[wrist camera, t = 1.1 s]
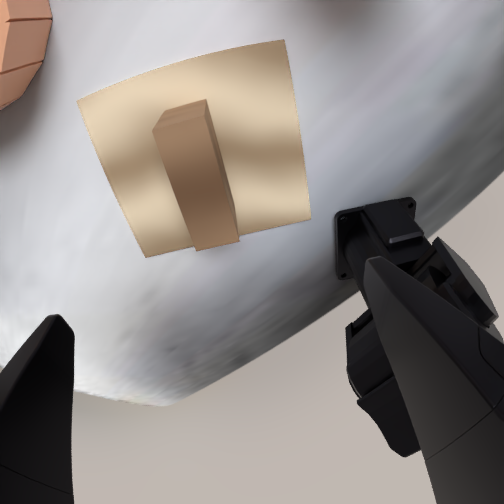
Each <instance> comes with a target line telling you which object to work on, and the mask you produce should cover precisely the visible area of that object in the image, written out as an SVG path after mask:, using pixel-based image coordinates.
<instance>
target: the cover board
mask: <svg viewBox="0 0 504 504" xmlns="http://www.w3.org/2000/svg"><path fill="white" fill-rule="evenodd" d="M77 104H78V107H79V109H80V112H81V115H82V118H83V120H84V123H85V125H86V128H87V131H88V133H89V136H90V138H91V141H92V143H93V146H94V148H95V151H96V153H97V155H98V158H99V160H100V163H101V165H102V167H103V170H104V172H105V174H106V176H107V179H108V181H109V183H110V185H111V188H112V190H113V192H114V194H115V197H116V199H117V201H118V203H119V205H120V207H121V209H122V212H123V214H124V216H125V218H126V220H127V222H128V224H129V226H130V228H131V230H132V232H133V234H134V236H135V238H136V240H137V242H138V244H139V246H140V248H141V250H142V252H143V254H144V256H145V258H147V257H151V256H155V255H159V254H163V253H167V252H172V251H176V250H180V249H184V248H188V247H192V246H194V247H195V249H196V251H200V250H204V249H209V248H213V247H217V246H222V245H226V244H230V243H235V242H239V235H243V234H248V233H252V232H256V231H261V230H265V229H270V228H274V227H278V226H283V225H287V224H292V223H296V222H301V221H305V220H310V219H311V213H310V204H309V195H308V186H307V178H306V170H305V163H304V155H303V148H302V141H301V134H300V127H299V121H298V114H297V108H296V102H295V96H294V90H293V84H292V78H291V72H290V67H289V62H288V56H287V51H286V46H285V41H284V40H277V41H271V42H264V43H258V44H253V45H247V46H242V47H237V48H232V49H227V50H223V51H219V52H214V53H210V54H206V55H202V56H198V57H195V58H191V59H187V60H184V61H180V62H177V63H173V64H170V65H167V66H164V67H161V68H158V69H155V70H152V71H149V72H146V73H143V74H140V75H137V76H135V77H132V78H129V79H127V80H124V81H121V82H119V83H116V84H114V85H111V86H109V87H106V88H104V89H102V90H99V91H97V92H95V93H92V94H90V95H88V96H86V97H84V98H81V99H79V100H77Z"/></svg>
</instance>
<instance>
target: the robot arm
mask: <svg viewBox="0 0 504 504" xmlns="http://www.w3.org/2000/svg"><path fill="white" fill-rule="evenodd" d="M409 203H411V204H410V205H409ZM415 210H416V201H415V200H414V199H413V198H412V197H406V198H401V199H396V200H395V199H394V200H389V201H384V202H379V203H374V204H369V205H365V206H361V207H357V208H352V209H347V210H342V211H339V212H338V213H337V214H336V216H335V228H336V272H337V276H338V279H340V280H345V279H349V278H353V277H354V279H355V281H356V283H357V285H358V287H359V289H360V291H361V293H362V296H363V298H364V300H365V302H366V304H367V306H368V310H367V311H365V312H364V313H363V314H362V315H361V316H360V317H359V318H358V319H357V320H356V321H354V322H353V323H352V322H351V323H350V324H349V325H348V326H347V327H346V328H345V329H346V347H347V374H348V379H349V383H350V385H351V387H352V389H353V391H354V392H355V394H356V395H357V397H359V399H358V400H357V404H358V405H359V406H360V407H361V408H362V409H363V410H364V411H365V412H367V413H368V414H369V415H370V416H371V418H372V419H373V420H374V421H375V423H376V424H377V425H378V427H379V428H380V430H381V432H382V434H383V435H384V437H385V439H386V441H387V443H388V445H389V447H390V448H391V449H392V450H393V451H395V452H396V453H398V454H399V455H400V456H402V457H408V456H410V455H412V454H414V453H416V452H418V451H420V450H421V451H422V454H423V457H424V460H425V464H426V467H427V471H428V474H429V477H430V481H431V484H432V488H433V491H434V495H435V499H436V503H437V504H504V342H503V338H502V336H501V334H500V333H499V331H498V330H497V328H496V327H495V325H494V324H493V322H494V321H495V320H496V319H497V318H498V317H499V316H498V313H497V311H496V309H495V307H494V305H493V302H492V300H491V298H490V296H489V294H488V292H487V290H486V288H485V286H484V284H483V283H482V282H481V280H480V279H479V278H478V276H477V275H476V274H475V273H474V271H473V270H472V269H471V268H470V266H469V265H468V264H467V263H466V262H465V261H464V260H463V259H462V258H461V257H460V256H459V255H458V254H457V253H456V252H455V251H454V250H452V249H451V248H450V247H449V246H448V245H447V244H446V243H445V242H444V241H442V240H441V239H440V238H439V237H437V238H436V239H435V240H434V241H433V242H432V245H431V244H430V243H429V241H428V240H427V239H426V238H425V236H424V232H423V230H422V229H421V228H420V227H419V226H418V224H417V223H416V222H415V221H414V218H415ZM342 217H345V218H344V219H342V220H341V218H342ZM343 273H344V274H343ZM74 343H75V336H74V332H73V330H72V329H71V327H70V326H69V325H68V324H67V322H66V321H65V320H64V319H63V317H62V316H61V315H59V314H54V315H49V316H47V317H46V318H45V319H44V321H43V322H42V323H41V324H40V325H39V326H38V327H37V329H36V330H35V331H34V332H33V333H32V334H31V336H30V337H29V338H28V339H27V340H26V342H25V343H24V344H23V345H22V346H21V348H20V349H19V350H18V351H17V353H16V354H15V355H14V356H13V357H12V359H11V360H10V361H9V362H8V364H7V365H6V366H5V368H4V369H3V370H2V372H1V373H0V504H74V495H73V484H72V458H71V457H72V456H71V429H72V404H73V388H74Z"/></svg>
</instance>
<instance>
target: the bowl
mask: <svg viewBox="0 0 504 504" xmlns="http://www.w3.org/2000/svg"><path fill="white" fill-rule="evenodd" d="M51 18H52V14H51V9H50V5H49V1H48V0H0V111H1V110H2V109H3V108H5V107H6V106H8V105H9V104H11V103H12V102H14V101H15V100H17V99H19V98H20V97H21V96H22V95H23V93H24V92H25V90H26V88H27V87H28V85H29V83H30V82H31V80H32V78H33V77H34V75H35V74H36V72H37V70H38V69H39V67H40V66H41V64H42V63H43V62H42V61H41V60H44V56H45V51H46V46H47V41H48V37H49V32H50V28H51V24H52V20H50V19H51Z"/></svg>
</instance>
